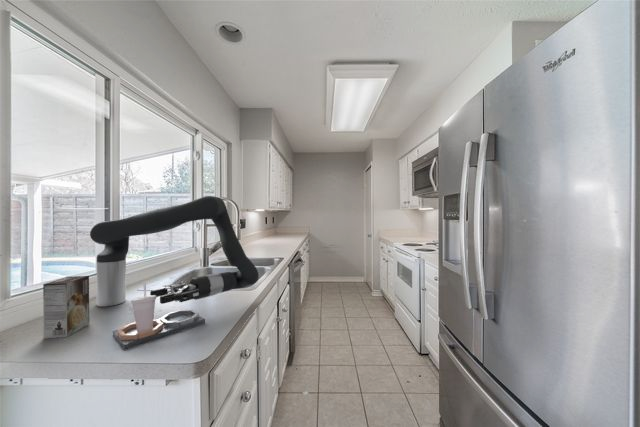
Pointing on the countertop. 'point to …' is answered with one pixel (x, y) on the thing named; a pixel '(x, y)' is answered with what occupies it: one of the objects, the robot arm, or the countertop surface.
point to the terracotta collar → (138, 335)
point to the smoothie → (144, 311)
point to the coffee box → (65, 306)
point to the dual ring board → (161, 333)
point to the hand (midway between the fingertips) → (155, 297)
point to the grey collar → (182, 322)
